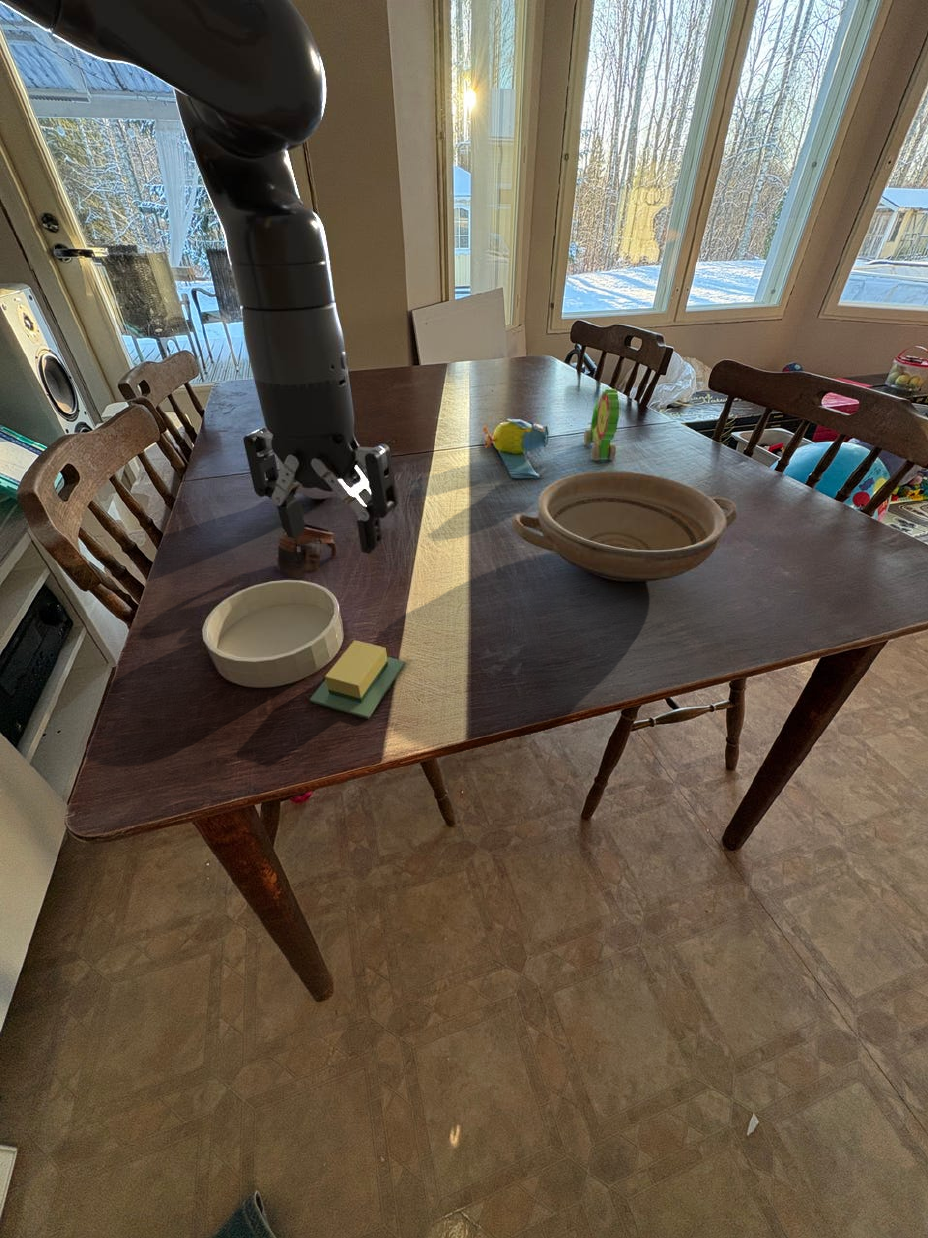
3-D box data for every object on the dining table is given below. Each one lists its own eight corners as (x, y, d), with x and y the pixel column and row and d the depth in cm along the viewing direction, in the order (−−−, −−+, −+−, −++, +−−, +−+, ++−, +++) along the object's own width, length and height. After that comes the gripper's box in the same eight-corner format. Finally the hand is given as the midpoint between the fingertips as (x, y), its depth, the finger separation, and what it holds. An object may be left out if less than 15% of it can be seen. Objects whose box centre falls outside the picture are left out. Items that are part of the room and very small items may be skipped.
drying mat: (368, 719, 60) (368, 716, 59) (309, 701, 62) (309, 699, 61) (405, 663, 67) (404, 661, 67) (351, 649, 69) (351, 647, 69)
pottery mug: (267, 564, 87) (276, 516, 85) (321, 573, 92) (331, 528, 90) (284, 581, 77) (294, 528, 75) (343, 590, 82) (354, 540, 81)
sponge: (361, 703, 61) (358, 685, 59) (329, 694, 62) (324, 676, 60) (388, 665, 66) (385, 647, 64) (357, 657, 67) (354, 639, 65)
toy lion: (581, 442, 130) (590, 378, 121) (602, 442, 130) (613, 378, 121) (593, 466, 118) (604, 397, 109) (617, 466, 118) (630, 397, 109)
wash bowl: (297, 702, 62) (288, 675, 59) (184, 668, 66) (171, 642, 63) (365, 618, 74) (361, 593, 71) (267, 595, 79) (259, 570, 76)
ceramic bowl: (532, 624, 73) (538, 565, 67) (491, 529, 95) (493, 477, 89) (769, 598, 78) (795, 540, 71) (677, 513, 100) (691, 463, 93)
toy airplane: (473, 402, 128) (532, 400, 130) (472, 437, 133) (528, 435, 135) (498, 441, 106) (568, 438, 108) (496, 480, 112) (562, 477, 114)
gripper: (197, 372, 41) (251, 548, 51) (354, 387, 37) (379, 574, 47) (257, 352, 46) (295, 515, 56) (399, 364, 42) (412, 536, 53)
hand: (333, 542), depth 52 cm, fingers open, 8 cm apart
